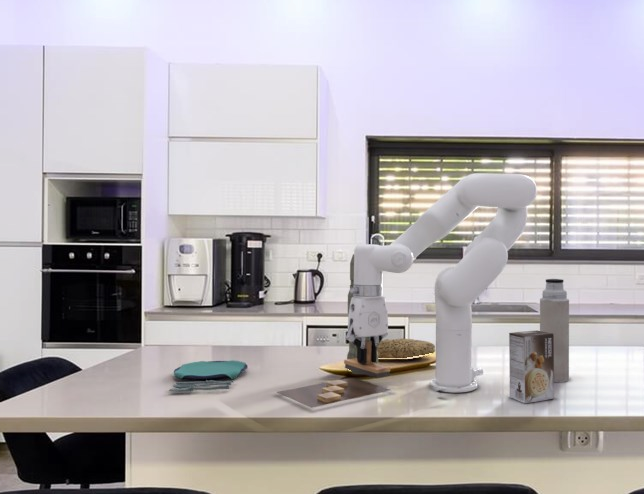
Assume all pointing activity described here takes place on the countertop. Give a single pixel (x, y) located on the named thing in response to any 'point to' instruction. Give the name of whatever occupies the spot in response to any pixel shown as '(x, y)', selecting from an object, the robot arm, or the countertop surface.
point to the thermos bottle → (556, 325)
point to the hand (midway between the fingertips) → (366, 361)
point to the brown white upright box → (531, 366)
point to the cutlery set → (207, 374)
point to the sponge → (403, 348)
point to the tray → (351, 391)
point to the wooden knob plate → (367, 364)
